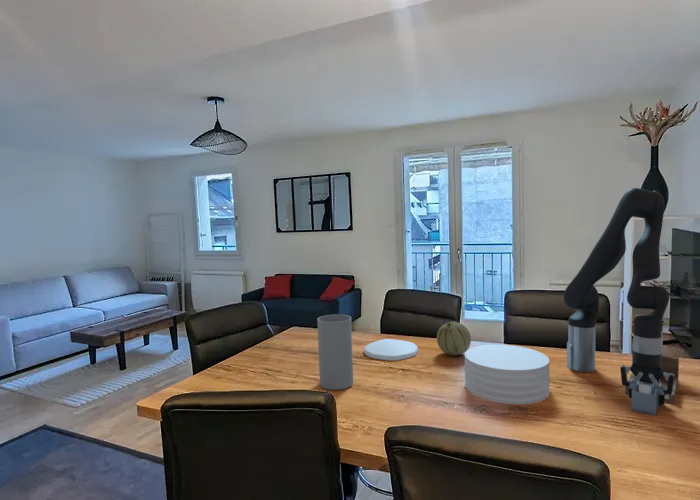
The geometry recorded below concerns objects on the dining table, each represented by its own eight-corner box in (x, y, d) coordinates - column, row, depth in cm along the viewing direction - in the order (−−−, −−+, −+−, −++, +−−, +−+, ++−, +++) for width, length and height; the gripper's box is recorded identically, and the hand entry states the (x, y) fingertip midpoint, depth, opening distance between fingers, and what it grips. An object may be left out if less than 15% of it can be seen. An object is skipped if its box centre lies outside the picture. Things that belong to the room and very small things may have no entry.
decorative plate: (401, 355, 179) (353, 346, 194) (402, 364, 179) (353, 355, 194) (427, 340, 199) (382, 333, 214) (428, 349, 200) (382, 341, 214)
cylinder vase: (357, 379, 163) (355, 315, 161) (346, 392, 151) (344, 323, 149) (327, 376, 167) (325, 313, 165) (314, 389, 155) (311, 321, 153)
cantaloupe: (475, 352, 191) (474, 319, 190) (465, 362, 179) (464, 326, 178) (443, 347, 199) (443, 316, 198) (431, 356, 187) (431, 323, 186)
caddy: (655, 415, 126) (656, 390, 126) (631, 410, 130) (631, 385, 130) (659, 401, 136) (660, 378, 135) (637, 397, 139) (637, 374, 139)
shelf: (673, 403, 134) (674, 375, 133) (625, 393, 142) (625, 366, 142) (678, 383, 149) (678, 358, 148) (634, 376, 158) (634, 351, 157)
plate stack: (509, 412, 132) (508, 376, 132) (448, 383, 157) (448, 352, 156) (567, 392, 145) (567, 359, 144) (503, 368, 170) (503, 340, 169)
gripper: (677, 351, 130) (676, 404, 131) (621, 343, 139) (621, 393, 140) (675, 357, 124) (674, 413, 125) (617, 349, 134) (617, 400, 135)
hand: (646, 402), depth 133 cm, fingers open, 6 cm apart
